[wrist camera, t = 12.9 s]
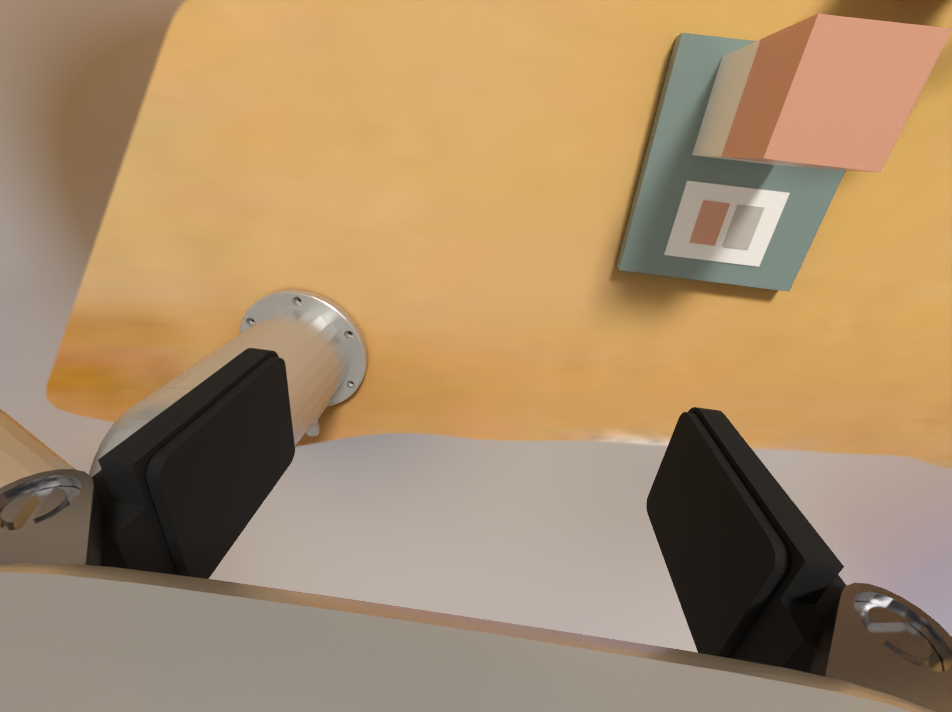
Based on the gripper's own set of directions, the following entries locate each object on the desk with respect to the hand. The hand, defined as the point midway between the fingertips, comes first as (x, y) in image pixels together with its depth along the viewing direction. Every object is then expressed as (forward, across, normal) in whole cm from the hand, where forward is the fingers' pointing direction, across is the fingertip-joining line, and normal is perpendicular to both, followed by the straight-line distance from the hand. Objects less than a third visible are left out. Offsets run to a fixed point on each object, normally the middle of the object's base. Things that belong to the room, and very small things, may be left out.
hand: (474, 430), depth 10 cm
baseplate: (+28, -17, -6) cm, 34 cm away
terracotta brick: (+22, -16, -10) cm, 29 cm away
